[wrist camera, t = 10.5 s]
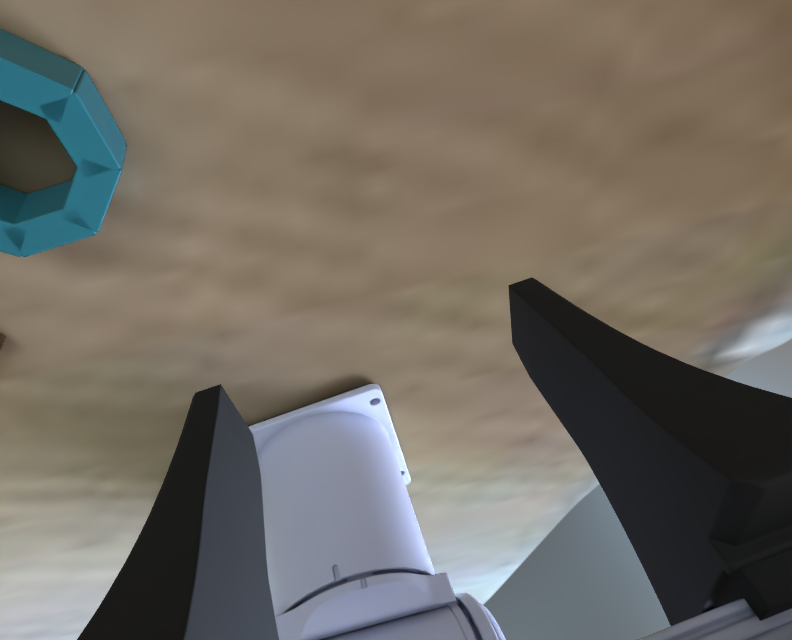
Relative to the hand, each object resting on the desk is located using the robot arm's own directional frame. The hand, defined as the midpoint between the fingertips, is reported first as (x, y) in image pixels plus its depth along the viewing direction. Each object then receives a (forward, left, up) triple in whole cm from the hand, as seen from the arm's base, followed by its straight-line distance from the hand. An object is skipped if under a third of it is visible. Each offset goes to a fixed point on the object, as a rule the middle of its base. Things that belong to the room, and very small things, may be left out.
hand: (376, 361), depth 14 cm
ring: (+5, +8, -9) cm, 13 cm away
